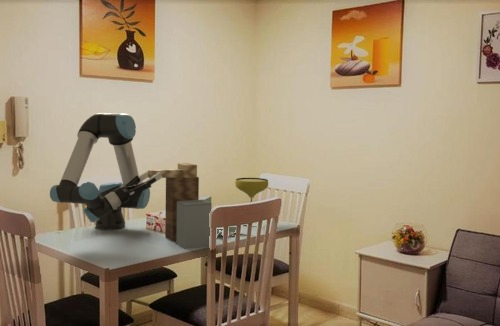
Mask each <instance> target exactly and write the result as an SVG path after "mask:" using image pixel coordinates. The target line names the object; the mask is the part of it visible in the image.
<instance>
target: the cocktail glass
mask: <svg viewBox="0 0 500 326" xmlns="http://www.w3.org/2000/svg"><path fill="white" fill-rule="evenodd" d="M234 182H235V183H234V184H235V187H236V188H237V189H238V190H240V191H241V192H243V193H244V194H246V195H247V196H248V197H249V198H250V203H251V202H252V203H253V198H255V196H256V195H257V194H260V193H261V192H263V191H265V190H266V189H267V188H268V187H269V180H268V179H267V178H259V177H239V178H236V179H235V181H234Z"/></svg>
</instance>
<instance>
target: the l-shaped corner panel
mask: <svg viewBox="0 0 500 326" xmlns="http://www.w3.org/2000/svg"><path fill="white" fill-rule="evenodd" d="M219 230H221V231H222V230H223V229H217V234H218V233H219ZM235 230H236V227H229V236H232V235H234V236H235V234H234V232H235ZM219 234H220V235H221V234H222V232H221V233H219Z"/></svg>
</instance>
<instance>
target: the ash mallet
mask: <svg viewBox="0 0 500 326" xmlns="http://www.w3.org/2000/svg"><path fill="white" fill-rule="evenodd" d="M147 171H148V178H147V179H150V178H151V177H153V176H154V175H156V174H157V173H159V172H160V174H161V176H162V177H163V178H162V179H166V178H172V177H184V178H195V177H198V165H197V164H194V163H190V162H180V163H179V162H178V163H177V168H173V169H167V168H166V169H148V170H147Z"/></svg>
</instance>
